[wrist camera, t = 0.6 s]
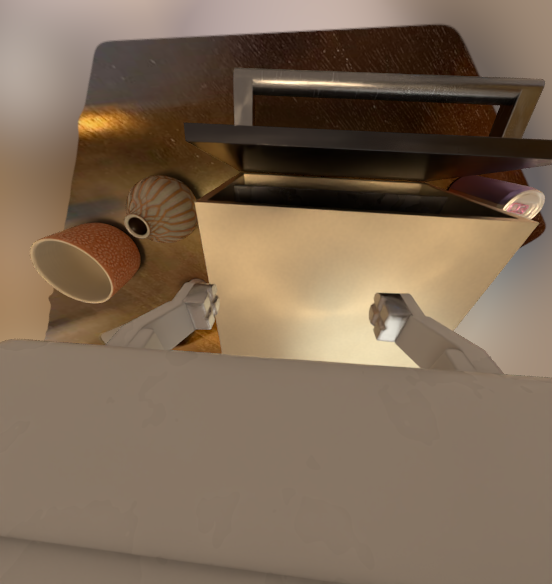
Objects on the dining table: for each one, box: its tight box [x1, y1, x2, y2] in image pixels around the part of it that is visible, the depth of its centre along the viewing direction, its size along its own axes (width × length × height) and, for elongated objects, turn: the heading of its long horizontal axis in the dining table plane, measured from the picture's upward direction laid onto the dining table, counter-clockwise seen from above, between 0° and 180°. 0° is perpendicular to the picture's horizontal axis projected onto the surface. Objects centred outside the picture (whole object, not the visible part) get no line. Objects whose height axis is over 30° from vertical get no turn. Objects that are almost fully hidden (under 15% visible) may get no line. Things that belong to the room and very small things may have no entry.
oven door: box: [184, 68, 552, 182], centre depth 32 cm, size 7×40×26 cm, turn 88°
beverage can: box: [448, 175, 545, 220], centre depth 39 cm, size 6×6×15 cm
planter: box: [30, 223, 141, 303], centre depth 53 cm, size 17×17×15 cm
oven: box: [194, 173, 539, 368], centre depth 44 cm, size 32×40×26 cm
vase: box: [124, 175, 198, 243], centre depth 44 cm, size 13×13×18 cm
